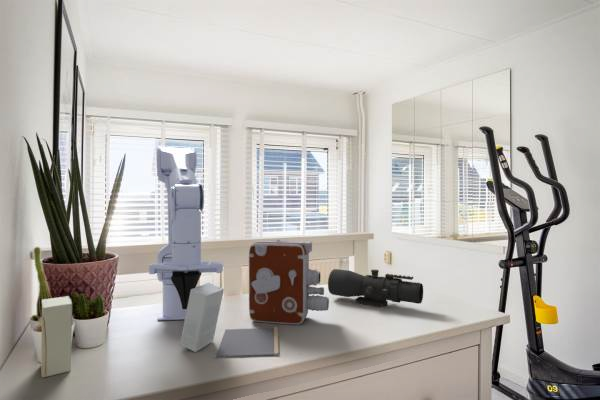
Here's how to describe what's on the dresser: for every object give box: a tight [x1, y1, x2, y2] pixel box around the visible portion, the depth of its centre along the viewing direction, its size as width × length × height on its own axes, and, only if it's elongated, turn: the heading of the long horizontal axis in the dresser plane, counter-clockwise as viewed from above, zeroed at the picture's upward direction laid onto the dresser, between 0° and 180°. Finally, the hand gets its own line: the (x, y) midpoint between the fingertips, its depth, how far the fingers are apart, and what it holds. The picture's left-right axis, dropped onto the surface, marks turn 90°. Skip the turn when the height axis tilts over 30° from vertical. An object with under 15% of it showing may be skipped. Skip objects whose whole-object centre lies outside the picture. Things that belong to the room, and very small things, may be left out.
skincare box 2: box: [179, 282, 225, 353], centre depth 73 cm, size 6×4×12 cm
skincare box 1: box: [40, 295, 73, 378], centre depth 64 cm, size 6×4×12 cm
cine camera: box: [248, 239, 330, 325], centre depth 89 cm, size 9×19×20 cm, turn 78°
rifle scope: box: [327, 268, 424, 309], centre depth 102 cm, size 10×26×10 cm, turn 58°
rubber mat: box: [215, 326, 280, 359], centre depth 76 cm, size 14×12×1 cm
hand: (186, 307), depth 74 cm, fingers closed
